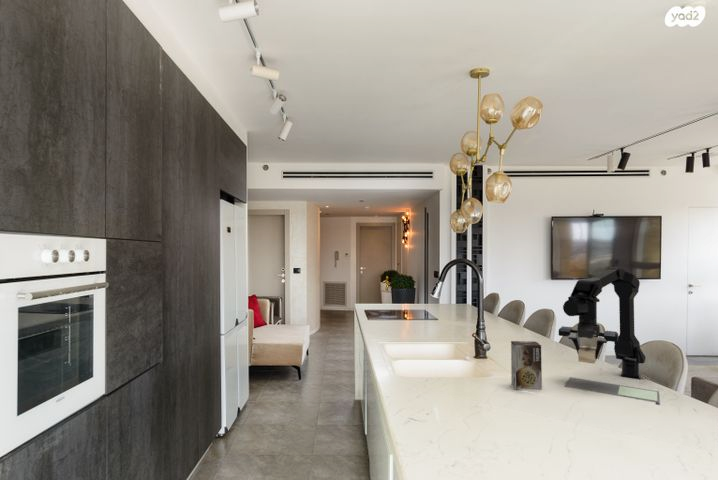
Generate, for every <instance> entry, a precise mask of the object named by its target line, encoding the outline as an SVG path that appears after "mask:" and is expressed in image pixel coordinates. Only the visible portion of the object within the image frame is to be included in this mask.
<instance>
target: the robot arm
mask: <svg viewBox="0 0 718 480" xmlns="http://www.w3.org/2000/svg"><path fill="white" fill-rule="evenodd" d="M610 284H611V285H613V290H614V291H613V292H615V294H616V295H617V297H618V301H619V303H618V304H619V306H618V307H619V310H618V311H619V312H618V313H619V333H618V331H614V330H613V331H612V330H605V331H604V332H601V329H600V328H601V326H600V325H599V324H598V322H597V319H598V316H597V314H598V313H597V312H598V311H597V310H598V309H597V307H598V306H597V303H600V299H599V298H598V296H599V295H601V293H602V291H603V288H605V287H606V286H608V285H610ZM640 285H641V282H640V279H638V277H637V276H635V275H634V274H632V273H630V272H628V271H625V270H624V268H621V267H609V268H606V270H605V271H602V272H600V273H598V274H596V275H595V276H593V277H589V278H582V279H578V280H577V281H576V283H575V285H574V287H573V289H572V292H571V294H570V296H568V298H567V300H566V301H564V303H563V304H562V309H563V313H564V314H565V315H567V316H568V317H577V316H578V323H577V328H576V329H573V327H572V326H561V327H559V329H558V336H561V337H568V339H569V340H571V341H572V343H573V345H574V347H575V349H576V353H577V354H578V350H579V349H580V348H581V342H580V338H587V339H589V340H590V339H591V340H592V339H593V338H597V340H596V359H598V357H599V355H600V351H601V348H602V346H603V345H604V344H607V343H608V342H613V343H614V347H613V349H614V350H613V351H614V354H615V358H616V360H621V372H620V376H619V377H622V378H628V379H636V380H641V374H640V364H645V362H646V356H645V354H644V352H643V351H642V349H641V343H640V341H639V340H638V338H637V337H636V335H635V298H636V296H637V295H638V293H639V289H640Z"/></svg>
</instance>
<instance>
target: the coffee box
mask: <svg viewBox="0 0 718 480" xmlns="http://www.w3.org/2000/svg"><path fill="white" fill-rule="evenodd" d="M510 343H511V344H510V349H511V350H510V353H511V354H510V355H511V356H510V357H511V358H510V360H511V375H510V376H511V377H510V378H511V386H512V387H513V389H514V390H515V391H521V390H538V391H539V390H541V391H542V389H543V384H542V383H543V379H542V377H543V375H542V371H543V370H542V345H541V344H540V343H538V341H535V340H534V341H530V340H529V341H527V340H526V341H525V340H524V341H521V340H520V341H519V340H511V341H510Z"/></svg>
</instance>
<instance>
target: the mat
mask: <svg viewBox="0 0 718 480" xmlns="http://www.w3.org/2000/svg"><path fill="white" fill-rule="evenodd" d="M563 387H565V388H571V389H576V390H581V391H586V392H587V391H588V392H593V393H600V394H606V395H611V396H616V397H622V398H626V399H627V398H628V399H634V400H641V401H645V402H651V403H655V405H658V406H660V391H659V390H651V389H647V388H641V387H634V386H628V385H622V384H621V385H620V384H615V383H609V382H603V381H602V382H601V381H597V380H596V381H595V380H591V379H584V378H578V377H573V376H569V378H568V379H567V381H566V383H565V384H564V385H563Z"/></svg>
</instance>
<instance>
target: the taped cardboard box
mask: <svg viewBox="0 0 718 480" xmlns="http://www.w3.org/2000/svg"><path fill="white" fill-rule="evenodd" d="M596 347H597V346H596ZM596 347H595V346H589V345H587V346H586V345H582V346H581V345H580V349H579V350H578V353H577V355H578V356H577V359H578V362H581V363H587V364H593V365H594V364H595V363H596V361H597V359H598V358H597V359H596Z"/></svg>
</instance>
